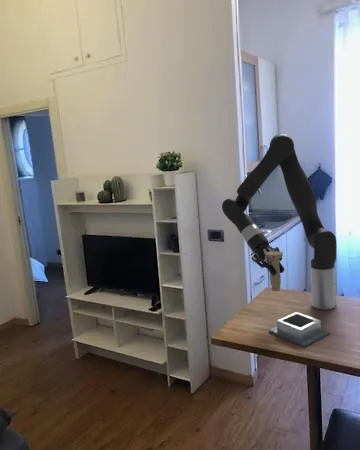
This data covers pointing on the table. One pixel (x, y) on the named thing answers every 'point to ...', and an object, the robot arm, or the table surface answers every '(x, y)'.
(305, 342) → the socket
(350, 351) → the table surface
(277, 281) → the handle
